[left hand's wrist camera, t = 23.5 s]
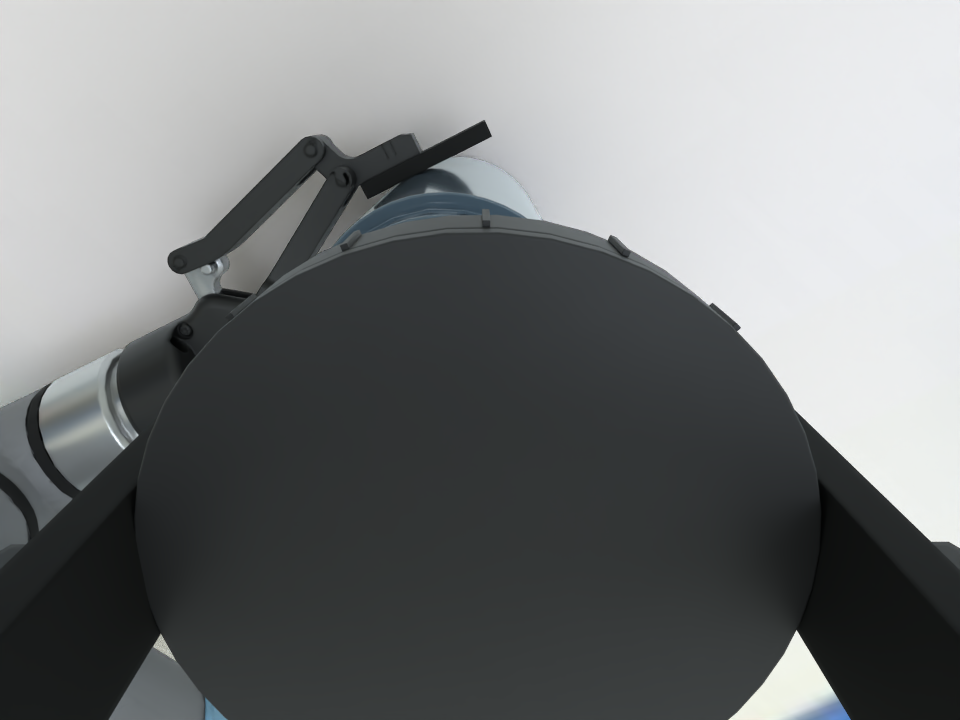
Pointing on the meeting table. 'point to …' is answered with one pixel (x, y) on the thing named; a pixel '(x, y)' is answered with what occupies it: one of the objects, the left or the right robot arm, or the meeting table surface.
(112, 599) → the left robot arm
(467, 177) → the jar
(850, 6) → the meeting table surface
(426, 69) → the meeting table surface
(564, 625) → the lid
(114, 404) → the right robot arm
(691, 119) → the meeting table surface
